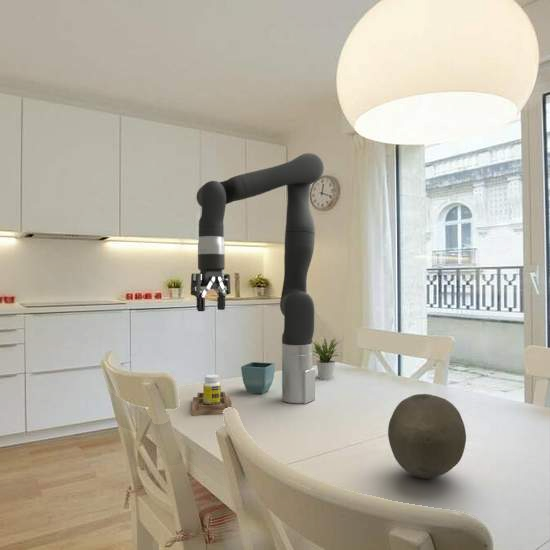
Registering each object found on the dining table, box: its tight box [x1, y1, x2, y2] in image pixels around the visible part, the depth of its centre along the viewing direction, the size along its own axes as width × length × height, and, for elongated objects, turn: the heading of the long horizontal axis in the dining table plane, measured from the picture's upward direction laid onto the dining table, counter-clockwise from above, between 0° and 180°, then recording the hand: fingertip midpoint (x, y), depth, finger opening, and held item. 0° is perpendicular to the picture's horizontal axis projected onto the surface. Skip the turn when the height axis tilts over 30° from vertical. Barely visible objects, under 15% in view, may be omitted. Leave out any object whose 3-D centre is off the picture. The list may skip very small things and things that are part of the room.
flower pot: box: [240, 361, 276, 395], centre depth 150 cm, size 9×9×9 cm
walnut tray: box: [191, 391, 233, 416], centre depth 132 cm, size 11×15×2 cm
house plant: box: [312, 335, 343, 380], centre depth 171 cm, size 14×14×16 cm
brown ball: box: [387, 393, 467, 479], centre depth 84 cm, size 14×14×15 cm
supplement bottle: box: [202, 374, 221, 405], centre depth 129 cm, size 5×5×8 cm
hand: (211, 310), depth 129 cm, fingers open, 8 cm apart
